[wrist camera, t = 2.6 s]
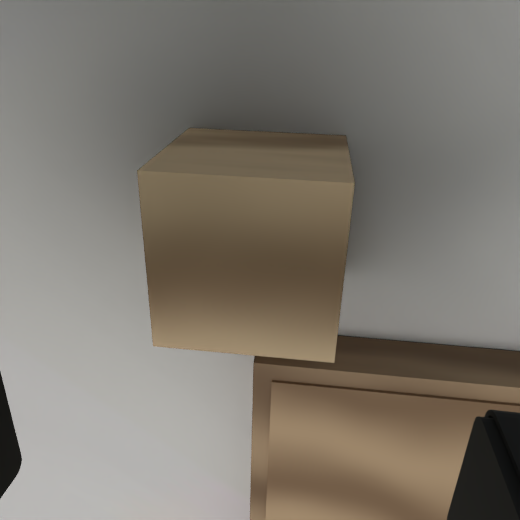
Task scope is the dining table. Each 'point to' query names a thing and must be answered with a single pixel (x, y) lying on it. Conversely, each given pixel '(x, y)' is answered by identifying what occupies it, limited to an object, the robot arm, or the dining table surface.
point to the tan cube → (247, 241)
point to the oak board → (371, 428)
